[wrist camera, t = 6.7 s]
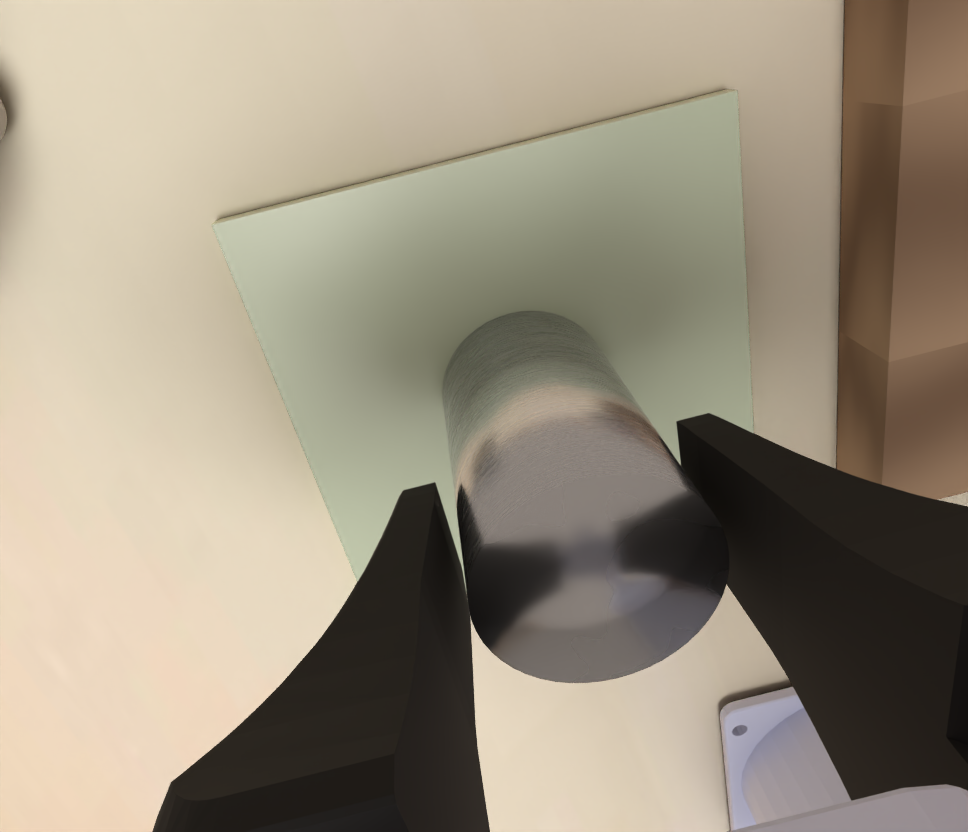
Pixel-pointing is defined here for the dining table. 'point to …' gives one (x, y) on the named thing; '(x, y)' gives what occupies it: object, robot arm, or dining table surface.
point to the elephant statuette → (2, 120)
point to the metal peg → (571, 508)
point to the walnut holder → (904, 246)
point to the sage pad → (499, 290)
